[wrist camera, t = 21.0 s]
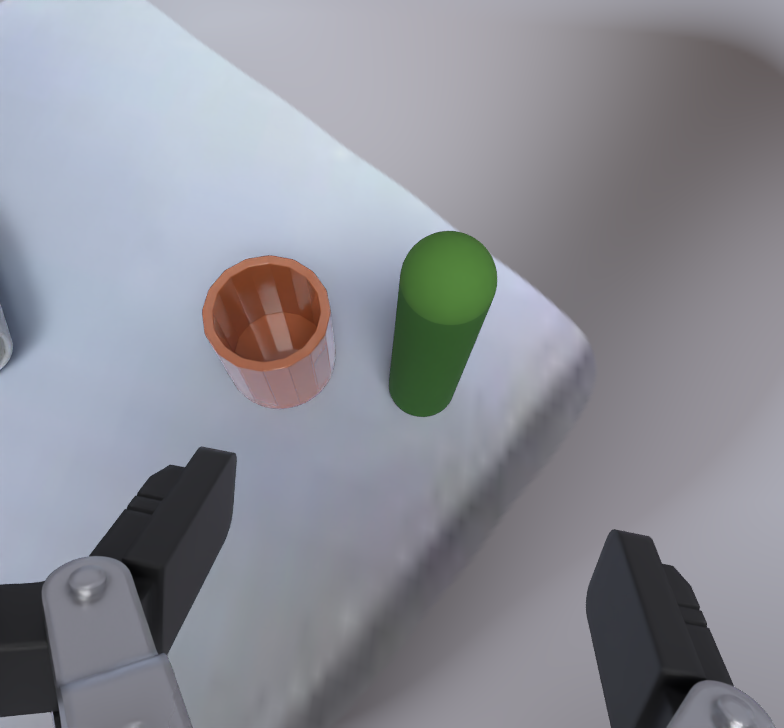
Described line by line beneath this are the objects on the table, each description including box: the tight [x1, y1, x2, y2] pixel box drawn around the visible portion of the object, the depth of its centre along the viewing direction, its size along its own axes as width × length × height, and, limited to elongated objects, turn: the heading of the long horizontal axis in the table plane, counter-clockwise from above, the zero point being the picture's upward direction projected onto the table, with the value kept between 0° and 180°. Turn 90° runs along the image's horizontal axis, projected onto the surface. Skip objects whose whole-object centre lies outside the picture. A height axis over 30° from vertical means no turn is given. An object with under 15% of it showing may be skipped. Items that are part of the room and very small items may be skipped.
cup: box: [202, 255, 336, 409], centre depth 36 cm, size 6×6×6 cm
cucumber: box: [389, 231, 497, 417], centre depth 31 cm, size 4×4×15 cm
